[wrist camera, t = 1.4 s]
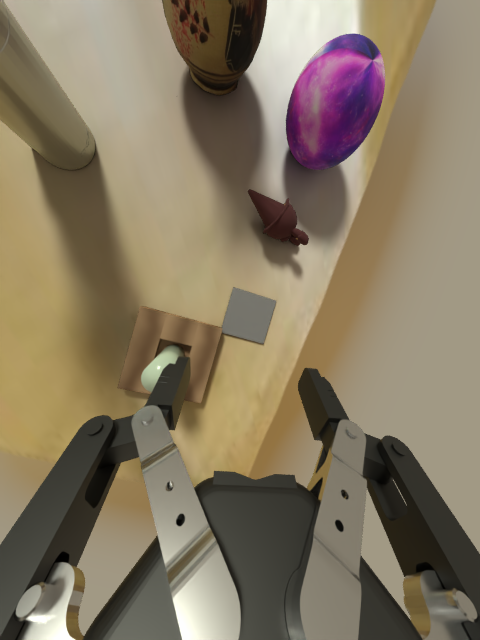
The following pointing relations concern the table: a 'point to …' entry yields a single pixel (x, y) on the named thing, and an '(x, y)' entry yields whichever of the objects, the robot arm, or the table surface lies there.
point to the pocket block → (162, 331)
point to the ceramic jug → (216, 38)
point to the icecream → (278, 219)
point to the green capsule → (160, 365)
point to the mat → (248, 315)
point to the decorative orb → (335, 101)
